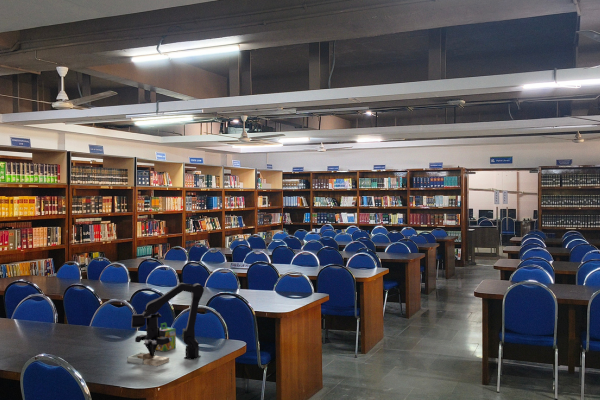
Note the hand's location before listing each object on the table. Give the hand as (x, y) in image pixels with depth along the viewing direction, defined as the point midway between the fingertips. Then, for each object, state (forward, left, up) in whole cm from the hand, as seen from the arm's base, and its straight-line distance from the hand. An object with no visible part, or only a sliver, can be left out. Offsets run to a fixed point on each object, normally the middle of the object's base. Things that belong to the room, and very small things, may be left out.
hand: (152, 356), depth 273 cm
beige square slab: (-3, 0, -3) cm, 4 cm away
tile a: (+2, 0, -1) cm, 3 cm away
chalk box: (+12, -23, -3) cm, 26 cm away
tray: (+8, 0, -3) cm, 8 cm away
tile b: (+7, 0, -3) cm, 7 cm away
